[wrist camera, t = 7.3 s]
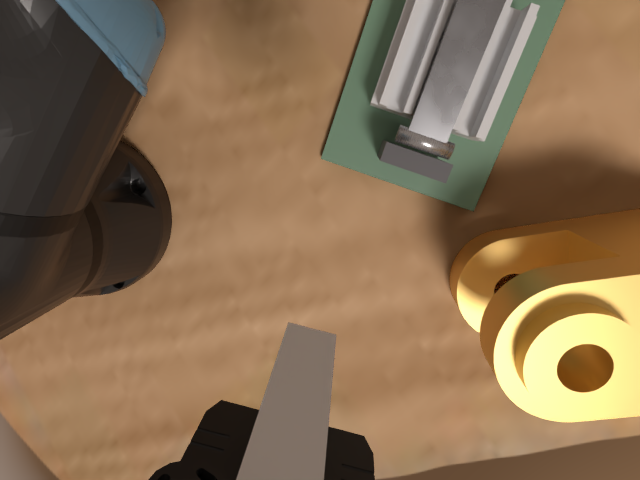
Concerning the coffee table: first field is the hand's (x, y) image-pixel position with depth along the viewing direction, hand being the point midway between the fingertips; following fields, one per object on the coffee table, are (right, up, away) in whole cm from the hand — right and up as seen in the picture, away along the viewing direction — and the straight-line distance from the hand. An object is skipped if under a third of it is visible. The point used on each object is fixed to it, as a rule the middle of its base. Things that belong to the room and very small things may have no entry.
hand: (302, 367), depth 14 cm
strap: (+10, +17, +16) cm, 25 cm away
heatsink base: (+10, +18, +23) cm, 31 cm away
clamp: (+22, +1, +27) cm, 35 cm away
